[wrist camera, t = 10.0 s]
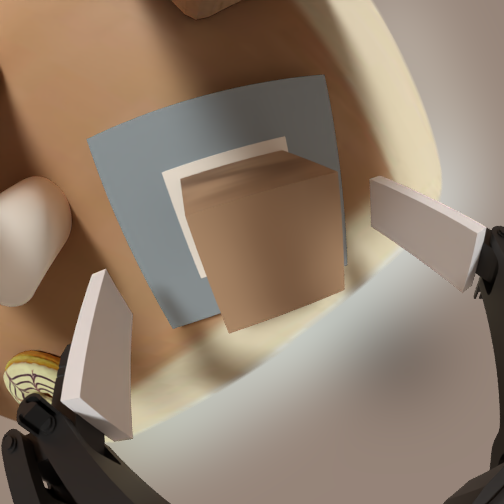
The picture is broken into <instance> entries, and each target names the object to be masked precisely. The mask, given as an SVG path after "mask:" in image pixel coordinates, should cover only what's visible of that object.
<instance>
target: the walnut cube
mask: <svg viewBox="0 0 504 504" xmlns="http://www.w3.org/2000/svg"><path fill="white" fill-rule="evenodd" d="M180 182H181V190H182V197H183V205H184V212H185V217H186V220H187V223H188V226H189V229H190V232H191V235H192V237H193V240H194V243H195V246H196V249H197V251H198V254H199V257H200V260H201V262H202V265H203V268H204V271H205V273H206V276H207V279H208V281H209V284H210V287H211V289H212V292H213V294H214V297H215V299H216V302H217V305H218V307H219V310H220V312H221V315H222V317H223V320H224V322H225V325H226V327H227V330H228V332H229V333H232V332H235V331H238V330H241V329H244V328H247V327H249V326H252V325H255V324H258V323H261V322H264V321H266V320H269V319H272V318H274V317H277V316H280V315H283V314H285V313H288V312H290V311H293V310H296V309H298V308H301V307H303V306H306V305H309V304H311V303H314V302H316V301H319V300H321V299H323V298H326V297H328V296H331V295H333V294H336V293H338V292H340V291H343V290H344V250H343V230H342V214H341V201H340V190H339V179H338V172H337V171H335V170H332V169H330V168H328V167H325V166H323V165H320V164H318V163H315V162H313V161H310V160H308V159H305V158H302V157H300V156H297V155H294V154H292V153H289V152H286V151H283V150H280V151H276V152H272V153H268V154H264V155H260V156H256V157H252V158H248V159H245V160H241V161H237V162H234V163H230V164H227V165H223V166H220V167H216V168H213V169H210V170H207V171H203V172H200V173H197V174H194V175H191V176H188V177H184V178H181V179H180Z"/></svg>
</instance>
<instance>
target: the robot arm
mask: <svg viewBox="0 0 504 504" xmlns="http://www.w3.org/2000/svg"><path fill="white" fill-rule="evenodd" d="M369 181H370V201H371V227H373V228H374V229H376V230H377V231H379V232H380V233H382V234H383V235H385V236H386V237H388V238H389V239H391V240H392V241H394V242H395V243H396V244H398V245H399V246H401V247H402V248H404V249H405V250H406V251H408V252H409V253H411V254H412V255H413V256H415V257H416V258H418V259H419V260H420V261H422V262H423V263H424V264H426V265H427V266H429V267H430V268H431V269H432V270H434V271H435V272H436V273H438V274H439V275H440V276H442V277H443V278H444V279H445V280H447V281H448V282H449V283H451V284H452V285H453V286H454V287H456V288H457V289H458V290H459V291H461V292H462V293H463V292H464V291H465V290H467V289H468V288H469V287H470V286H472V283H473V280H474V277H475V273H476V274H478V275H479V276H480V278H479V281H478V284H477V287H476V290H475V293H474V299H476V297H477V294H478V292H481V294H480V296H479V299H483V302H484V306H485V310H486V314H487V318H488V323H489V327H490V331H491V337H492V343H493V348H494V354H495V361H496V368H497V377H498V388H499V403H500V429H499V432H498V434H497V436H496V438H495V440H494V443H493V446H492V453H491V463H490V470H489V471H488V472H486V473H484V474H482V475H480V476H478V477H476V478H473V479H471V480H469V481H468V482H467V483H466V484H465V485H464V486H463V487H461V488H460V489H459V490H458V491H457V492H456V493H454V494H453V495H452V496H451V497H450V498H448V499H447V500H446V501H445V502H444V504H504V227H502V226H495V227H493V228H492V230H490V229H488V228H486V227H485V226H483V225H482V224H480V223H478V222H476V221H475V220H473V219H471V218H469V217H467V216H466V215H464V214H462V213H460V212H458V211H456V210H454V209H452V208H450V207H448V206H447V205H444V204H442V203H441V202H438V201H436V200H434V199H432V198H430V197H428V196H426V195H424V194H422V193H420V192H417V191H415V190H413V189H411V188H409V187H406V186H404V185H402V184H399V183H397V182H395V181H392V180H390V179H387V178H385V177H383V176H377V177H374V178H370V179H369ZM132 318H133V314H132V312H131V311H130V309H129V307H128V306H127V304H126V302H125V301H124V299H123V298H122V296H121V294H120V293H119V291H118V289H117V287H116V286H115V284H114V282H113V280H112V279H111V277H110V275H109V273H108V272H107V270H106V269H104V270H101V271H99V272H96V273H94V274H92V276H91V279H90V282H89V285H88V288H87V291H86V294H85V297H84V300H83V303H82V307H81V310H80V314H79V317H78V321H77V324H76V328H75V332H74V336H73V340H72V344H69V345H67V346H66V348H65V350H64V352H63V353H62V355H61V358H60V363H59V369H58V372H57V378H56V381H55V386H54V392H53V397H52V403H51V404H50V403H49V402H48V401H47V400H45V399H44V398H43V397H42V396H41V395H40V394H38V393H32V394H29V395H28V396H26V397H25V398H24V399H23V400H22V402H21V403H20V405H19V408H18V410H17V422H18V424H19V425H20V426H22V427H23V428H24V429H26V430H27V431H29V432H30V433H29V434H28V435H23V434H22V433H21V432H19V431H18V430H16V429H11V430H9V431H8V432H7V433H6V434H5V435H4V437H3V440H2V445H1V446H2V456H3V461H4V467H5V471H6V476H7V480H8V484H9V488H10V492H11V495H12V499H13V502H14V504H170V503H169V502H168V501H166V500H165V499H164V498H163V497H161V496H160V495H159V494H158V493H156V492H155V491H154V490H153V489H152V488H151V487H150V486H149V485H147V484H146V483H145V482H144V481H143V480H142V479H141V478H140V477H139V476H138V475H137V474H135V473H134V472H133V471H132V470H131V469H130V468H129V467H128V466H127V465H126V464H125V463H124V462H123V461H122V460H121V459H120V458H119V457H118V456H117V455H116V453H115V452H114V451H113V450H112V449H111V448H110V447H109V446H107V445H106V444H105V440H104V435H106V436H107V437H108V438H110V439H111V440H113V441H122V440H129V439H133V433H132V416H131V336H132ZM42 480H43V481H45V482H47V485H48V489H47V488H45V487H44V483H43V481H42Z"/></svg>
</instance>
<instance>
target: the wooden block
mask: <svg viewBox="0 0 504 504" xmlns="http://www.w3.org/2000/svg"><path fill="white" fill-rule="evenodd" d="M171 1H172V2H173V3H174V4H175V5H176V6H177V7H178V8H179V9H180V10H181V11H182V12H183V13H184V14H185V15H187V16H189V17H191V18H193V19H195V20H197V19H201V18H206V17H210V16H212V15H214V14H215V13H217V12H219V11H221V10H223V9H225V8H227V7H229V6H231V5H233V4H235V3H237V2H239V1H241V0H171Z"/></svg>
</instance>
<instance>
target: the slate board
mask: <svg viewBox="0 0 504 504" xmlns="http://www.w3.org/2000/svg"><path fill="white" fill-rule="evenodd" d="M87 142H88V145H89V148H90V151H91V154H92V156H93V159H94V162H95V165H96V168H97V170H98V173H99V176H100V178H101V181H102V184H103V186H104V189H105V191H106V194H107V196H108V199H109V201H110V204H111V206H112V208H113V211H114V213H115V216H116V218H117V220H118V222H119V225H120V227H121V229H122V231H123V234H124V236H125V238H126V240H127V242H128V245H129V247H130V249H131V251H132V253H133V255H134V257H135V259H136V261H137V263H138V265H139V267H140V269H141V271H142V273H143V275H144V277H145V279H146V281H147V283H148V285H149V287H150V289H151V291H152V292H153V294H154V296H155V298H156V300H157V302H158V303H159V305H160V307H161V309H162V311H163V312H164V314H165V316H166V318H167V319H168V321H169V323H170V325H171V326H172V328H173V329H174V328H177V327H180V326H183V325H187V324H190V323H193V322H196V321H199V320H202V319H205V318H208V317H211V316H214V315H216V314H219V313H221V312H220V310H219V307H218V305H217V302H216V299H215V297H214V294H213V292H212V289H211V287H210V284H209V281H208V279H207V276H206V273H205V271H204V268H203V265H202V262H201V260H200V257H199V254H198V251H197V249H196V246H195V243H194V240H193V237H192V235H191V232H190V229H189V226H188V223H187V220H186V217H185V212H184V205H183V197H182V190H181V182H180V179H181V178H184V177H188V176H191V175H194V174H197V173H200V172H203V171H207V170H210V169H213V168H216V167H220V166H223V165H227V164H230V163H234V162H237V161H241V160H245V159H248V158H252V157H256V156H260V155H264V154H268V153H272V152H276V151H280V150H283V151H286V152H289V153H292V154H294V155H297V156H300V157H302V158H305V159H308V160H310V161H313V162H315V163H318V164H320V165H323V166H325V167H328V168H330V169H332V170H335V171H337V172H338V179H339V190H340V201H341V214H342V230H343V250H344V266H347V246H346V228H345V214H344V202H343V192H342V182H341V173H340V164H339V156H338V149H337V142H336V135H335V129H334V123H333V117H332V111H331V105H330V100H329V95H328V89H327V84H326V80H325V75H313V76H304V77H296V78H288V79H281V80H275V81H268V82H263V83H257V84H252V85H247V86H242V87H237V88H233V89H228V90H224V91H220V92H216V93H212V94H208V95H204V96H201V97H197V98H194V99H190V100H187V101H183V102H180V103H177V104H174V105H171V106H168V107H165V108H162V109H159V110H156V111H153V112H150V113H148V114H145V115H142V116H139V117H137V118H134V119H132V120H129V121H127V122H124V123H122V124H119V125H117V126H115V127H112V128H110V129H108V130H106V131H103V132H101V133H99V134H97V135H95V136H92V137H90V138H88V139H87Z"/></svg>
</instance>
